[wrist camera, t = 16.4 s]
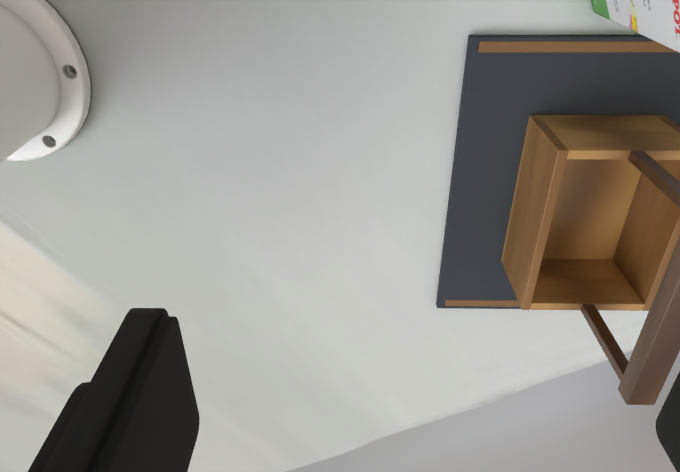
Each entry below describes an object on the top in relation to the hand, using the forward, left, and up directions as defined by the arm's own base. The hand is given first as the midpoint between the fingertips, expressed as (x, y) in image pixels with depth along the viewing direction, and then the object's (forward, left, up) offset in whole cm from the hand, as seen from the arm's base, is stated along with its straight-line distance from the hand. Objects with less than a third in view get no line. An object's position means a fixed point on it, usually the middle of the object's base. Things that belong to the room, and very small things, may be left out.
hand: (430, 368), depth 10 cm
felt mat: (+15, -11, -28) cm, 34 cm away
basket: (+15, -11, -28) cm, 33 cm away
